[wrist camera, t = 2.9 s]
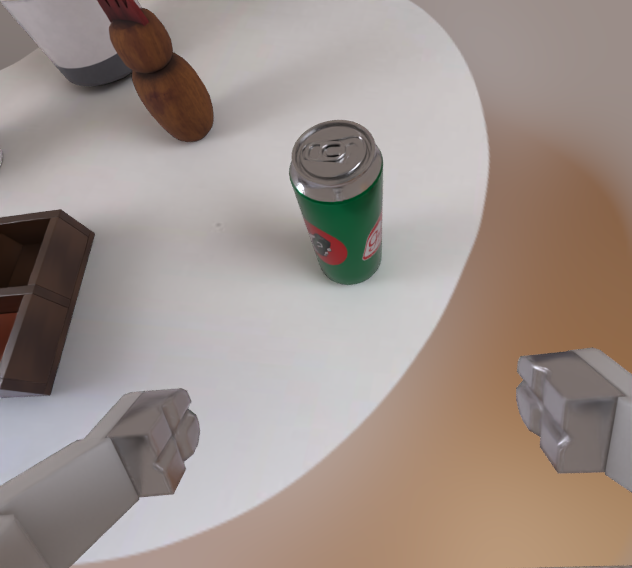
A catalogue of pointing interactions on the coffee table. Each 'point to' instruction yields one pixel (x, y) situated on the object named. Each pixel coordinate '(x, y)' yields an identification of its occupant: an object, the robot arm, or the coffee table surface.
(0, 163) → the mug
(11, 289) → the holder
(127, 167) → the coffee table surface
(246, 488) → the coffee table surface
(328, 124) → the soda can
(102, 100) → the coffee table surface
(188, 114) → the wooden figurine
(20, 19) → the planter
